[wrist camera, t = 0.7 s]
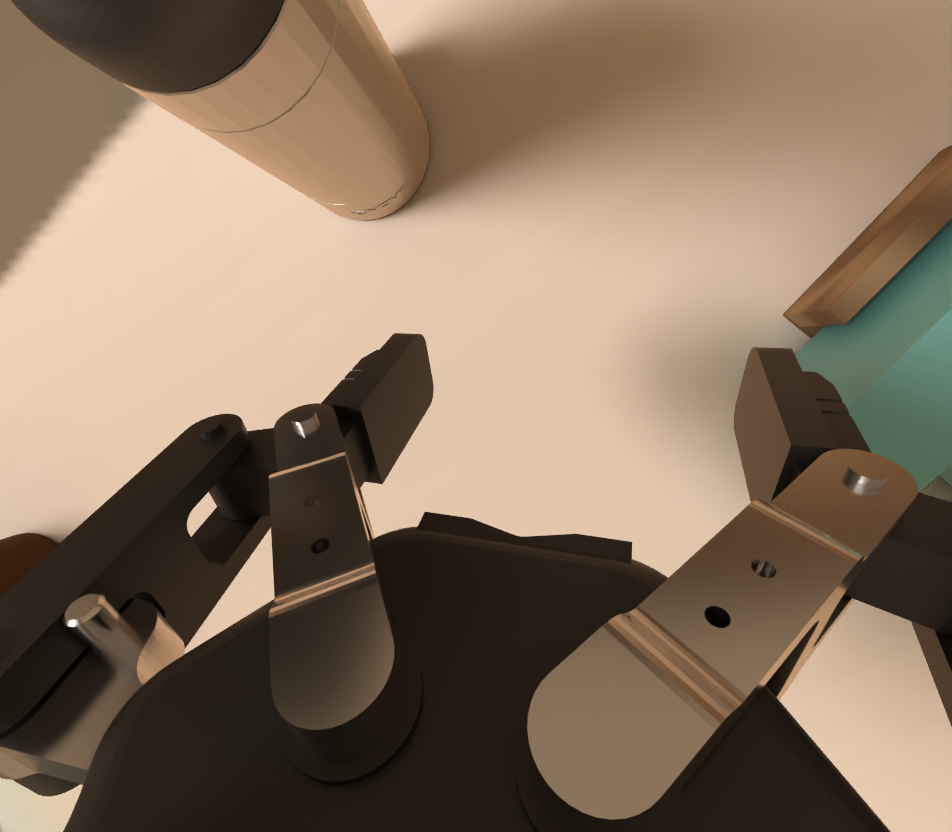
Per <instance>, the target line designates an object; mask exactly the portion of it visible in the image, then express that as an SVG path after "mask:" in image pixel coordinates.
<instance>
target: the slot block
mask: <svg viewBox="0 0 952 832" xmlns="http://www.w3.org/2000/svg"><path fill="white" fill-rule="evenodd" d="M951 218H952V146H949V147H947V148H945V149H943V150H941V151H940V152H939V154H938V155H937V156H936V157H935V158H934V159H933V160H932V161H931V162H930V163H929V164H928V165H927V166H926V167H925V168H924V169H923V170H922V171H921V172H920V173H919V174H918V175H917V176H916V177H915V178H914V179H913V180H912V182H911V183H910V184H909V185H908V186H907V187H906V188H905V189H904V190H903V191H902V192H901V193H900V194H899V195H898V196H897V197H896V198H895V199H894V200H893V201H892V202H891V203H890V204H889V205H888V206H887V207H886V208H885V209H884V211H883V212H882V213H881V214H880V215H879V216H878V217H877V218H876V219H875V220H874V221H873V222H872V223H871V224H870V225H869V226H868V227H867V228H866V229H865V230H864V231H863V232H862V233H861V234H860V235H859V236H858V237H857V239H856V240H855V241H854V242H853V243H852V244H851V245H850V246H849V247H848V248H847V249H846V250H845V251H844V252H843V253H842V254H841V255H840V256H839V257H838V258H837V259H836V260H835V261H834V262H833V263H832V264H831V265H830V267H829V268H828V269H827V270H826V271H825V272H824V273H823V274H822V275H821V276H820V277H819V278H818V279H817V280H816V281H815V282H814V283H813V284H812V285H811V286H810V287H809V288H808V289H807V290H806V291H805V292H804V293H803V295H802V296H801V297H800V298H799V299H798V300H797V301H796V302H795V303H794V304H793V305H792V306H791V307H790V308H789V309H788V310H787V311H786V312H785V313H784V314H783V316H785V317H786V318H787V319H788V320H789V321H791V322H792V323H793V324H794V325H795V326H797V327H798V328H799V329H800V330H801V331H803V332H804V333H805V334H806V335H807V336H809V337H810V338H811V339H812V338H813V337H814V336H815V335H816V334H817V333H818V332H819V331H820V330H821V329H822V328H823V327H824V326H825V325H840V324H846V323H847V322H848V321H849V320H850V319H851V318H852V317H853V316H854V315H855V314H856V313H857V312H858V311H859V310H860V309H861V308H862V307H863V306H864V305H865V304H866V303H867V302H868V301H869V300H870V299H871V298H872V297H873V296H874V295H875V294H876V293H877V292H878V291H879V290H880V289H881V288H882V287H883V286H884V285H885V284H886V283H887V282H888V281H889V280H890V279H891V278H892V277H893V276H894V275H895V274H896V273H897V272H898V271H899V270H900V269H901V268H902V267H903V266H904V265H905V264H906V263H907V262H908V261H909V260H910V259H911V258H912V257H913V256H914V255H915V254H916V253H917V252H918V251H919V250H920V249H921V248H922V247H923V246H924V245H925V244H926V243H927V242H928V241H929V240H930V239H931V238H932V237H933V236H934V235H935V234H936V233H937V232H938V231H939V230H940V229H941V228H942V227H943V226H944V225H945V224H946V223H947V222H948V221H949V220H950V219H951Z"/></svg>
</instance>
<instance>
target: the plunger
mask: <svg viewBox="0 0 952 832" xmlns="http://www.w3.org/2000/svg"><path fill="white" fill-rule="evenodd" d="M795 356H796V358H797V361H798V363H799V365H800V367H801V369H802V371H809V372H817V373H818V374H820V375H821V376H822V377H824V378H825V379H827V380H828V381H829V382H831V383H832V384H833V385H834V386H835V387H836V389H837V391H838V393H839V395H840V396H841V398H842V403H844V404H845V405H846V407H847V409H848V411H849V415H850V416H852V418H853V420H854V422H855V423H856V425H857V427H858V429H859V431H860V432H861V434H862V436H863V438H864V440H865V441H866V443H867V445H868V447H869V449H870V451H871V452H872V453H874V454H877V455H880V456H882V457H885V458H887V459H889V460H891V461H893V462H895V463H897V464H898V465H900V466H901V467H903V468H904V469H905V470H906V471H907V472H909V473H910V474H911V476H912V477H913V478H914V479H915V481H916V483H917V486H918V492H920V491H921V490H923V489H924V488H925V487H926V486H927V485H928V484H929V483H931V482H932V481H933V480H934V479H935V478H936V477H937V476H939V475H940V474H941V473H942V472H943V471H944V470H946V469H947V468H948V467H949V466H950V465H951V464H952V218H951V219H950V220H949V221H948V222H947V223H946V224H945V225H944V226H943V227H942V228H941V229H940V230H939V231H938V232H937V233H936V234H935V235H934V236H933V237H932V238H931V239H930V240H929V241H928V242H927V243H926V244H925V245H924V246H923V247H922V248H921V249H920V250H919V251H918V252H917V253H916V254H915V255H914V256H913V257H912V258H911V259H910V260H909V261H908V262H907V263H906V264H905V265H904V266H903V267H902V268H901V269H900V270H899V271H898V272H897V273H896V274H895V275H894V276H893V277H892V278H891V279H890V280H889V281H888V282H887V283H886V284H885V285H884V286H883V287H882V288H881V289H880V290H879V291H878V292H877V293H876V294H875V295H874V296H873V297H872V298H871V299H870V300H869V301H868V302H867V303H866V304H865V305H864V306H863V307H862V308H861V309H860V310H859V311H858V312H857V313H856V314H855V315H854V316H853V317H852V318H851V319H850V320H849V321H848V322H847V323H846V324H840V325H825V326H824V327H823V328H822V329H821V330H820V331H819V332H818V333H817V334H816V335H815V336H814V337H813V338H812V339H811V340H810V341H809V342H808V343H807V344H806V345H805V346H804V347H803V348H802V349H801V350H800V351H799V352H798V353H797V354H796V355H795Z"/></svg>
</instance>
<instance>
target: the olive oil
mask: <svg viewBox="0 0 952 832" xmlns="http://www.w3.org/2000/svg"><path fill="white" fill-rule="evenodd" d="M56 546H57V545H56V544H55V543H53V542H52V541H50V540H48V539H46V538H43V537H41V536H37V535H33V534H20V535H15V536H11V537H8V538H5V539H2V540H0V597H1V596H2V595H3V594H4V593H5V592H6V591H7V590H8V589H10V588H11V587H12V586H13V585H14V584H15V583H16V582H17V581H18V580H20V579H21V578H22V577H23V576H24V575H25V574H26V573H27V572H29V571H30V570H31V569H32V568H33V567H34V566H35V565H36V564H37V563H39V562H40V561H41V560H42V559H43V558H44V557H45V556H46V555H47V554H49V553H50V552H51V551H52V550H53V549H54V548H55V547H56Z"/></svg>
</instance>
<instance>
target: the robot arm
mask: <svg viewBox="0 0 952 832" xmlns="http://www.w3.org/2000/svg"><path fill="white" fill-rule="evenodd" d="M11 1H12V2H13V3H14V4H15V6H16V7H17V8H18V9H19V10H20V11H21V12H22V13H23V14H24V15H25V16H26V17H27V18H28V19H29V20H30V21H31V22H32V23H33V24H34V25H36V26H37V27H38V28H39V29H40V30H42V31H43V32H44V33H45V34H46V35H48V36H49V37H50V38H52V39H53V40H55V41H56V42H57V43H59V44H60V45H62V46H64V47H65V48H66V49H68V50H69V51H71V52H72V53H74V54H75V55H77V56H78V57H80V58H81V59H83V60H85V61H86V62H88V63H90V64H91V65H93V66H95V67H96V68H98V69H100V70H101V71H103V72H104V73H106V74H108V75H109V76H111V77H113V78H115V79H116V80H118V81H119V82H121V83H122V84H124V85H126V86H127V87H129V88H131V89H132V90H134V91H135V92H137V93H139V94H140V95H142V96H144V97H145V98H147V99H148V100H150V101H152V102H153V103H155V104H157V105H158V106H160V107H161V108H163V109H165V110H166V111H168V112H170V113H171V114H173V115H175V116H176V117H178V118H179V119H181V120H183V121H185V122H187V123H188V124H190V125H192V126H193V127H195V128H196V129H198V130H200V131H201V132H203V133H205V134H206V135H208V136H210V137H211V138H213V139H214V140H216V141H218V142H219V143H221V144H223V145H224V146H226V147H227V148H229V149H231V150H232V151H234V152H236V153H237V154H239V155H241V156H242V157H244V158H245V159H247V160H249V161H250V162H252V163H254V164H255V165H257V166H258V167H260V168H262V169H263V170H265V171H267V172H268V173H270V174H272V175H273V176H275V177H276V178H278V179H280V180H281V181H283V182H285V183H286V184H288V185H290V186H291V187H293V188H294V189H296V190H298V191H299V192H301V193H302V194H304V195H306V196H307V197H309V198H311V199H312V200H314V201H316V202H317V203H319V204H321V205H322V206H324V207H326V208H327V209H329V210H331V211H332V212H334V213H336V214H337V215H339V216H342V217H346V218H349V219H352V220H365V221H366V220H372V219H379V218H381V217H384V216H386V215H389V214H391V213H393V212H394V211H396V210H397V209H399V208H400V207H402V206H403V205H404V204H405V203H406V202H407V201H408V200H409V199H410V198H411V197H412V196H413V195H414V193H415V192H416V190H417V188H418V187H419V185H420V184H421V182H422V180H423V177H424V174H425V172H426V169H427V165H428V160H429V154H430V137H429V131H428V127H427V122H426V119H425V117H424V115H423V112H422V110H421V108H420V106H419V104H418V102H417V100H416V98H415V96H414V95H413V93H412V91H411V89H410V87H409V85H408V84H407V82H406V80H405V78H404V76H403V74H402V72H401V70H400V68H399V66H398V64H397V63H396V61H395V59H394V57H393V55H392V53H391V52H390V50H389V48H388V46H387V44H386V42H385V40H384V39H383V37H382V35H381V33H380V31H379V29H378V28H377V26H376V24H375V22H374V20H373V18H372V17H371V15H370V13H369V11H368V9H367V7H366V5H365V4H364V2H363V0H11ZM432 398H433V380H432V374H431V369H430V363H429V357H428V352H427V346H426V341H425V339H424V337H423V336H422V335H421V334H402V333H395V334H393V335H392V336H391V337H390V339H389V340H388V341H387V342H386V343H385V344H384V345H383V346H382V348H381V349H380V350H376V351H374V352H372V353H371V354H369V355H367V356H366V357H364V358H362V359H361V360H360V361H359V362H358V363H357V365H356V366H355V367H354V368H353V369H352V371H350V372H349V373H348V374H347V375H346V377H345V380H342V381H341V382H340V383H339V384H338V385H337V386H336V387H335V389H334V390H333V391H332V392H331V393H330V394H329V395H328V396H327V397H326V398H325V400H324V401H323V402H322V403H321V404H308V405H303V406H300V407H297V408H295V409H292V410H291V411H289V412H287V413H285V414H284V415H283V416H282V417H280V418H279V419H278V421H277V422H276V424H275V426H274V428H271V429H263V430H255V431H247V430H246V428H245V425H244V423H243V421H242V419H241V418H240V417H239V416H237V415H234V414H220V415H215V416H212V417H208V418H206V419H203V420H201V421H199V422H197V423H195V424H193V425H192V426H190V427H189V428H188V429H187V430H185V431H184V432H183V433H182V434H181V435H180V436H179V437H178V438H177V439H175V440H174V441H173V442H172V443H171V444H170V445H169V446H168V447H167V448H165V449H164V450H163V451H162V452H161V453H160V454H159V455H158V456H156V457H155V458H154V459H153V460H152V461H151V462H150V463H149V464H148V465H146V466H145V467H144V468H143V469H142V470H141V471H140V472H139V473H138V474H136V475H135V476H134V477H133V478H132V479H131V480H130V481H129V482H128V483H126V484H125V485H124V486H123V487H122V488H121V489H120V490H119V491H118V492H116V493H115V494H114V495H113V496H112V497H111V498H110V499H109V500H108V501H106V502H105V503H104V504H103V505H102V506H101V507H100V508H99V509H98V510H96V511H95V512H94V513H93V514H92V515H91V516H90V517H89V518H87V519H86V520H85V521H84V522H83V523H82V524H81V525H80V526H79V527H77V528H76V529H75V530H74V531H73V532H72V533H71V534H70V535H69V536H67V537H66V538H65V539H64V540H63V541H62V542H61V543H60V544H59V545H57V546H56V547H55V548H54V549H53V550H52V551H51V552H50V553H49V554H47V555H46V556H45V557H44V558H43V559H42V560H41V561H40V562H39V563H37V564H36V565H35V566H34V567H33V568H32V569H31V570H30V571H29V572H27V573H26V574H25V575H24V576H23V577H22V578H21V579H20V580H18V581H17V582H16V583H15V584H14V585H13V586H12V587H11V588H10V589H8V590H7V591H6V592H5V593H4V594H3V595H2V596H1V597H0V777H1V778H4V779H12V780H14V781H15V782H17V783H19V784H21V785H22V786H24V787H26V788H28V789H30V790H31V791H33V792H35V793H37V794H38V795H42V796H55V795H59V794H62V793H65V792H67V791H69V790H71V789H73V788H75V787H76V786H78V785H80V784H82V785H83V787H82V790H81V793H80V795H79V798H78V800H77V803H76V805H75V807H74V810H73V812H72V815H71V817H70V819H69V821H68V823H67V825H66V827H65V829H64V831H63V832H890V830H889V829H888V828H887V827H886V826H885V825H884V823H883V822H882V821H881V820H880V819H879V818H878V816H877V815H876V814H875V813H874V812H873V810H872V809H871V808H870V807H869V806H868V805H867V803H866V802H865V801H864V800H863V799H862V798H861V796H860V795H859V794H858V793H857V792H856V790H855V789H854V788H853V787H852V786H851V785H850V783H849V782H848V781H847V780H846V779H845V778H844V776H843V775H842V774H841V773H840V772H839V770H838V769H837V768H836V767H835V766H834V765H833V763H832V762H831V761H830V760H829V759H828V758H827V756H826V755H825V754H824V753H823V752H822V750H821V749H820V748H819V747H818V746H817V745H816V743H815V742H814V741H813V740H812V739H811V738H810V736H809V735H808V734H807V733H806V732H805V730H804V729H803V728H802V727H801V726H800V725H799V723H798V722H797V721H796V720H795V719H794V718H793V716H792V715H791V714H790V713H789V712H788V710H787V709H786V708H785V707H784V706H783V705H782V703H781V702H780V701H779V700H780V699H781V697H782V696H783V695H784V693H785V692H786V690H787V689H788V688H789V686H790V685H791V683H792V682H793V680H794V679H795V677H796V676H797V674H798V673H799V671H800V670H801V668H802V667H803V665H804V664H805V663H806V661H807V660H808V659H809V657H810V656H811V655H812V653H813V652H814V651H815V649H816V648H817V647H818V645H819V644H820V643H821V642H822V640H823V639H824V638H825V636H826V635H827V634H828V633H829V631H830V630H831V629H832V627H833V626H834V625H835V623H836V622H837V621H838V620H839V618H840V617H841V616H842V614H843V613H844V612H845V610H846V609H847V608H848V607H849V605H850V604H851V603H852V601H853V600H854V599H856V600H859V601H861V602H864V603H866V604H869V605H871V606H874V607H876V608H879V609H882V610H884V611H887V612H889V613H892V614H894V615H897V616H900V617H902V618H905V619H907V620H910V621H911V622H912V625H913V627H914V630H915V632H916V635H917V638H918V640H919V643H920V645H921V648H922V651H923V653H924V656H925V658H926V661H927V664H928V666H929V669H930V671H931V674H932V677H933V679H934V682H935V684H936V687H937V690H938V692H939V695H940V697H941V700H942V703H943V705H944V708H945V710H946V713H947V716H948V718H949V721H950V723H951V726H952V502H948V501H945V500H941V499H937V498H934V497H931V496H928V495H925V494H923V493H920V492H918V486H917V483H916V481H915V479H914V478H913V477H912V476H911V474H910V473H909V472H907V471H906V470H905V469H904V468H903V467H901V466H900V465H898V464H897V463H895V462H893V461H891V460H889V459H887V458H885V457H882V456H880V455H877V454H874V453H872V452H871V451H870V449H869V447H868V445H867V443H866V441H865V440H864V438H863V436H862V434H861V432H860V431H859V429H858V427H857V425H856V423H855V422H854V420H853V418H852V416H850V415H849V411H848V409H847V407H846V405H845V404H844V403H842V398H841V396H840V395H839V393H838V391H837V389H836V387H835V386H834V385H833V384H832V383H831V382H829V381H828V380H827V379H825V378H824V377H822V376H821V375H820V374H818V373H817V372H809V371H802V369H801V367H800V365H799V363H798V361H797V358H796V356H795V354H794V352H793V350H792V349H785V348H758V347H754V348H752V349H751V351H750V353H749V356H748V360H747V364H746V367H745V371H744V375H743V379H742V383H741V387H740V391H739V394H738V398H737V402H736V407H735V413H734V430H735V435H736V439H737V443H738V448H739V452H740V456H741V461H742V465H743V470H744V474H745V478H746V483H747V487H748V491H749V496H750V500H751V503H750V504H749V505H748V506H747V507H746V508H745V509H744V510H743V511H741V512H740V513H739V514H738V515H737V516H736V517H735V518H734V519H733V520H732V521H730V522H729V523H728V524H727V525H726V526H725V527H724V528H723V529H722V530H721V531H719V532H718V533H717V534H716V535H715V536H714V537H713V538H712V539H711V540H710V541H709V542H707V543H706V544H705V545H704V546H703V547H702V548H701V549H700V550H699V551H698V552H696V553H695V554H694V555H693V556H692V557H691V558H690V559H689V560H688V561H687V562H685V563H684V564H683V565H682V566H681V567H680V568H679V569H678V570H677V571H676V572H675V573H673V574H672V575H671V576H670V577H669V578H668V577H666V576H665V575H663V574H661V573H660V572H658V571H657V570H655V569H653V568H651V567H649V566H647V565H645V564H643V563H641V562H638V561H635V560H633V559H632V542H628V541H621V540H614V539H607V538H601V537H594V536H587V535H580V534H567V535H549V536H531V537H520V536H515V535H513V534H510V533H507V532H505V531H502V530H500V529H497V528H494V527H492V526H489V525H487V524H484V523H481V522H479V521H476V520H474V519H471V518H464V517H457V516H450V515H443V514H437V513H430V512H425V513H424V515H423V517H422V519H421V521H420V523H419V525H418V527H410V528H404V529H399V530H396V531H392V532H389V533H386V534H383V535H381V536H378V537H376V538H375V537H374V533H373V530H372V526H371V523H370V519H369V516H368V512H367V509H366V505H365V502H364V498H363V495H362V492H361V489H360V488H361V486H362V485H363V483H364V482H372V483H379V484H383V482H384V481H385V479H386V477H387V476H388V474H389V472H390V471H391V469H392V467H393V466H394V464H395V462H396V461H397V459H398V458H399V456H400V454H401V453H402V451H403V449H404V448H405V446H406V444H407V443H408V441H409V439H410V438H411V436H412V434H413V433H414V431H415V429H416V428H417V426H418V424H419V423H420V421H421V419H422V418H423V416H424V415H425V413H426V411H427V410H428V408H429V406H430V404H431V402H432ZM208 492H209V493H210V495H211V497H212V498H213V500H214V502H215V503H216V505H217V508H216V509H215V510H214V511H213V512H212V514H211V515H210V516H209V517H208V518H207V519H206V521H205V522H204V523H203V524H202V525H201V526H200V528H199V529H198V530H197V531H196V532H195V533H194V535H193V536H192V537H191V536H190V535H189V533H188V531H187V519H188V516H189V514H190V512H191V511H192V509H193V508H194V507H195V506H196V505H197V504H198V503H199V501H200V500H201V499H202V498H203V497H204V496H205V495H206V494H207V493H208ZM270 527H271V534H272V553H273V573H274V592H275V599H274V600H272V601H270V602H269V603H267V604H266V605H264V606H262V607H261V608H259V609H257V610H256V611H254V612H253V613H251V614H249V615H248V616H246V617H245V618H243V619H241V620H240V621H238V622H236V623H235V624H233V625H232V626H230V627H228V628H227V629H225V630H223V631H222V632H220V633H219V634H217V635H215V636H214V637H212V638H210V639H209V640H207V641H206V642H204V643H202V644H201V645H199V646H197V647H196V648H194V649H193V650H191V651H189V652H188V653H186V654H185V648H186V646H187V645H188V643H189V642H190V641H191V639H192V638H193V636H194V635H195V634H196V632H197V631H198V629H199V628H200V626H201V625H202V624H203V622H204V621H205V619H206V618H207V617H208V615H209V614H210V612H211V611H212V609H213V608H214V607H215V605H216V604H217V602H218V601H219V600H220V598H221V597H222V595H223V594H224V593H225V591H226V590H227V588H228V587H229V585H230V584H231V583H232V581H233V580H234V578H235V577H236V576H237V574H238V573H239V571H240V570H241V568H242V567H243V566H244V564H245V563H246V561H247V560H248V559H249V557H250V556H251V554H252V553H253V552H254V550H255V549H256V547H257V546H258V544H259V543H260V542H261V540H262V539H263V537H264V536H265V535H266V533H267V532H268V530H269V529H270Z"/></svg>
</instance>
